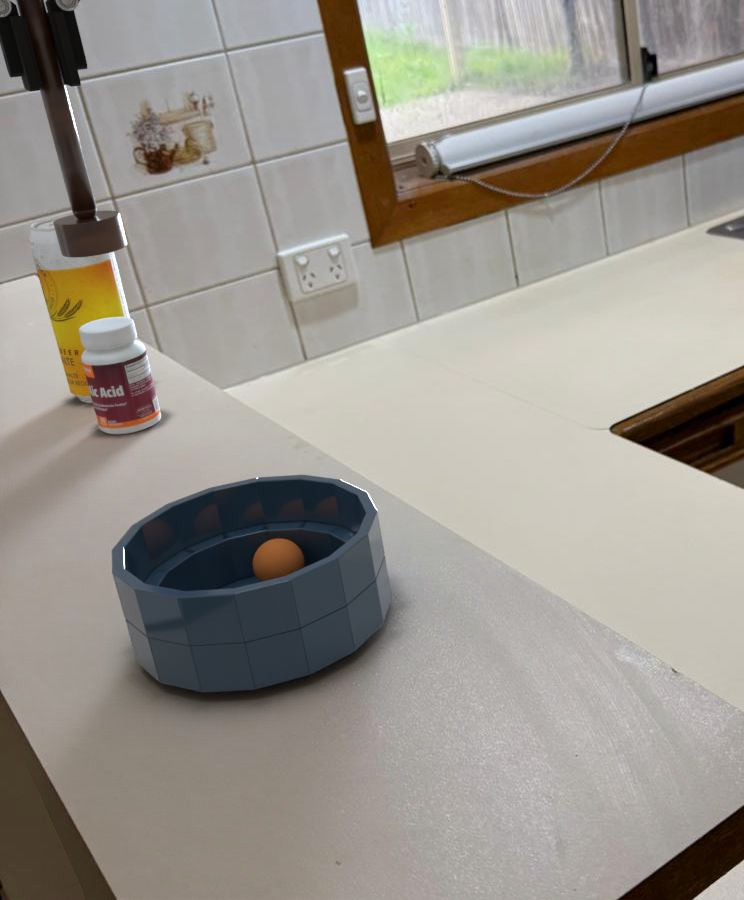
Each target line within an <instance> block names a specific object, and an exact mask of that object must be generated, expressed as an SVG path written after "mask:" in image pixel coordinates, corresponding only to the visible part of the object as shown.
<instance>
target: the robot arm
mask: <svg viewBox="0 0 744 900" xmlns="http://www.w3.org/2000/svg"><path fill="white" fill-rule="evenodd" d="M80 1H81V0H45V1H44V4H45V8H46V11H47V17H48V21H49V25H50V29H51V33H52V37H53V41H54V44H55V48H56V52H57V56H58V60H59V64H60V68H61V72H62V76H63V79H64V83H65V86H68V87H80V86H81V85H82V84H81V78H80V75H79V71H81V70H88V61H87V57H86V54H85V49H84V45H83V41H82V37H81V32H80V29H79V25H78V21H77V16H76V13H75V12H76V11H75V9H77V7H78V6H79V3H80ZM0 49H1V52H2V56H3V60H4V63H5V67H6V70H7V74H8V76H9V78H18V77H21V80H22V84H23V88H24V89H25V90H26V91H29V92H37V91H40V88H43V85H42V81H41V77H40V73H39V69H38V65H37V62H36V58H35V54H34V50H33V46H32V43H31V39H30V35H29V31H28V27H27V24H26V20H25V18H21V16H20V13H19V9H18V5H17V4H15V3H14V2H12V1H11V0H0Z"/></svg>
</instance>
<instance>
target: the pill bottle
mask: <svg viewBox="0 0 744 900" xmlns="http://www.w3.org/2000/svg"><path fill="white" fill-rule="evenodd" d="M79 333H80V338H81V343H82V344H83V347H84V348H87V349H86V350H85V351H84V352H83V353H82V356H81V360H82V364H83V368H84V372H85V376H86V380H87V383H88V387H89V391H90V395H91V399H92V402H93V403H92V406H93V410H94V413H95V417H96V421H97V425H98V428H99V430H100V431H101V432H103V433H106V434H110V435H127V434H133V433H136V432H140V431H143V430H145V429H149V428H150V427H153V426H155V425H156V424H158V423H159V422H160V420H161V418H162V412H161V409H160V405H159V399H158V396H157V391H156V386H155V383H154V378H153V374H152V369H151V366H150V365H151V364H150V361H149V356H148V353H147V351H148V350H147V348H146V346H145V345H144V343H143V342H141V341H140V340H138V339H137V338H138V334H137V333H138V332H137V328H136V325H135V321H134V319H133V318H131V317H130V318H128V317H110V318H104V319H99V320H95V321H91V322H89V323H86V324H84V325H82V326H81V327H80V328H79Z"/></svg>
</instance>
